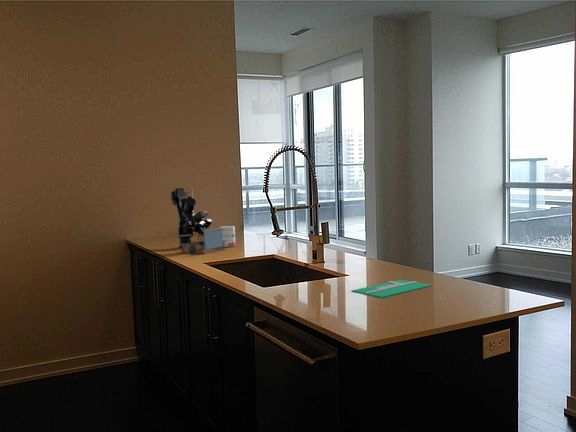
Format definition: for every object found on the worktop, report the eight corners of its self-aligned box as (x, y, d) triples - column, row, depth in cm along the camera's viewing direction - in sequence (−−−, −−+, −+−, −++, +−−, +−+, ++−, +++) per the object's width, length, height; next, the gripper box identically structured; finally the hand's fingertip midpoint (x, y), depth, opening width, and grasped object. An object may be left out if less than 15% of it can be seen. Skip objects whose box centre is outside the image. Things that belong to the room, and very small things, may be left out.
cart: (179, 252, 331) (179, 244, 331) (202, 247, 346) (202, 240, 346) (203, 254, 321) (202, 246, 320) (226, 249, 336) (225, 241, 335)
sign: (400, 278, 231) (431, 284, 219) (400, 281, 231) (431, 287, 219) (351, 289, 215) (382, 295, 203) (351, 292, 215) (382, 299, 203)
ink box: (235, 245, 351) (235, 225, 350) (234, 246, 346) (233, 226, 345) (221, 245, 352) (220, 226, 351) (219, 247, 347) (218, 227, 346)
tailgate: (204, 249, 323) (203, 230, 322) (221, 246, 334) (220, 228, 334) (206, 249, 322) (205, 231, 322) (223, 246, 334) (222, 228, 333)
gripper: (185, 207, 325) (201, 227, 320) (209, 204, 340) (224, 224, 335) (176, 221, 330) (191, 241, 325) (200, 218, 345) (214, 237, 340)
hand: (206, 235), depth 331 cm, fingers closed
